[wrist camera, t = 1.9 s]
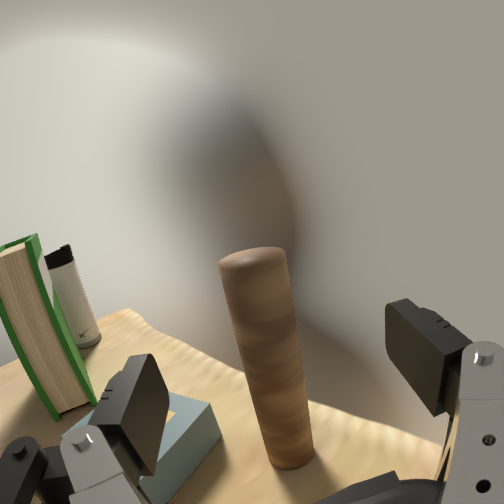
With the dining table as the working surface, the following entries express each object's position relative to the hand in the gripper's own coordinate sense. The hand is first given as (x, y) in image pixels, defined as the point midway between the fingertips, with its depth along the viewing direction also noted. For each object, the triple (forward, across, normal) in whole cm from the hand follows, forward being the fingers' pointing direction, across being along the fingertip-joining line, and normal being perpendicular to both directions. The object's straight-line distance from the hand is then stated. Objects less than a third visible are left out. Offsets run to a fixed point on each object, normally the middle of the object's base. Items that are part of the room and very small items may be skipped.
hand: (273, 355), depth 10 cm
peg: (+11, 0, +20) cm, 23 cm away
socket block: (+13, +15, +20) cm, 28 cm away
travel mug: (+44, +36, +19) cm, 60 cm away
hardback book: (+28, +33, +20) cm, 48 cm away
